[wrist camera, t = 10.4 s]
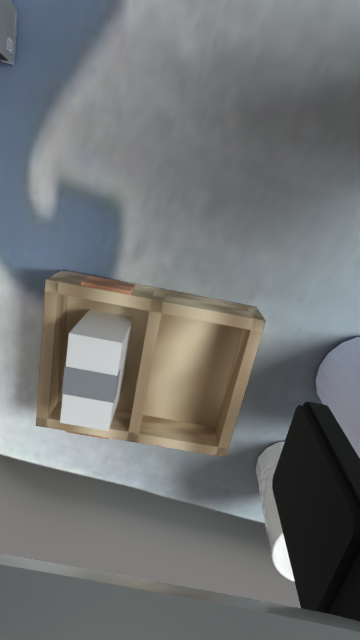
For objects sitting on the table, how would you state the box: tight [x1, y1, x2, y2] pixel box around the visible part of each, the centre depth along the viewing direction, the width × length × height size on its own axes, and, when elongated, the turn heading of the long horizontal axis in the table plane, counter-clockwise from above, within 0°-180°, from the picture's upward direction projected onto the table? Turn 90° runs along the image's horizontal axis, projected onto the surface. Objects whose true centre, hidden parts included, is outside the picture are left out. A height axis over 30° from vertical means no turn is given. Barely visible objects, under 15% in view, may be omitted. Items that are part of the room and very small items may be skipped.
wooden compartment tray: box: [36, 270, 266, 457], centre depth 32 cm, size 18×15×4 cm
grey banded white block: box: [60, 309, 134, 431], centre depth 30 cm, size 4×8×6 cm, turn 169°
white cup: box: [256, 441, 295, 582], centre depth 33 cm, size 8×8×10 cm
